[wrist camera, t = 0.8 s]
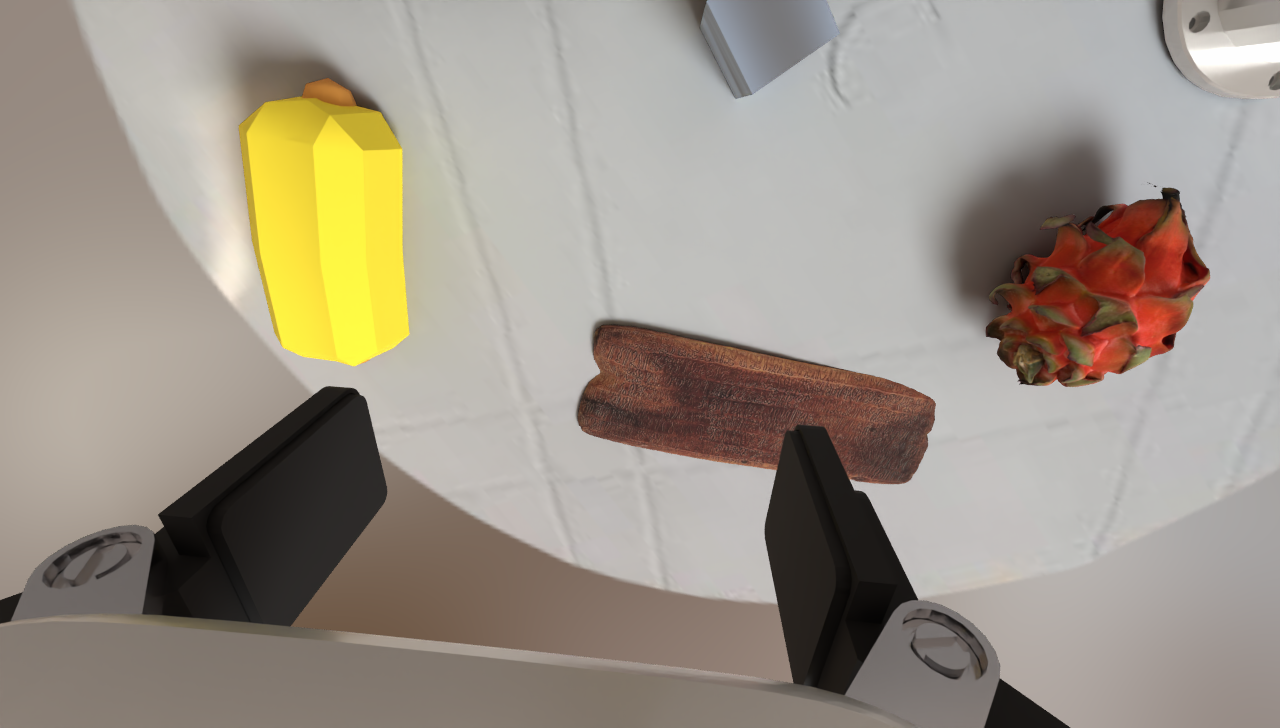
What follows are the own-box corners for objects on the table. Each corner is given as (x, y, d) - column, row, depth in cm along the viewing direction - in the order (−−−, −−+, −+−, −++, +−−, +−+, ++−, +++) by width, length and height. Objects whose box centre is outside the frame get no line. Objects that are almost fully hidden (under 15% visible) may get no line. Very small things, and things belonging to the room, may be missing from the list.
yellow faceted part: (318, 342, 37) (420, 361, 37) (250, 385, 31) (371, 408, 31) (282, 67, 29) (413, 93, 29) (180, 54, 23) (344, 87, 23)
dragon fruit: (952, 350, 35) (1062, 187, 32) (1089, 416, 31) (1233, 238, 28) (949, 353, 28) (1091, 142, 25) (1126, 438, 24) (1326, 202, 21)
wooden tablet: (968, 399, 34) (911, 515, 38) (951, 386, 36) (898, 498, 40) (593, 318, 34) (570, 444, 37) (597, 310, 36) (575, 430, 39)
